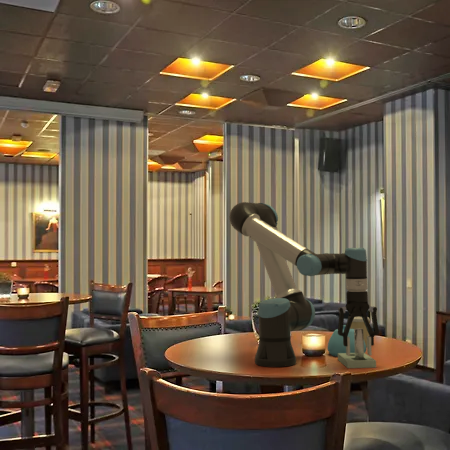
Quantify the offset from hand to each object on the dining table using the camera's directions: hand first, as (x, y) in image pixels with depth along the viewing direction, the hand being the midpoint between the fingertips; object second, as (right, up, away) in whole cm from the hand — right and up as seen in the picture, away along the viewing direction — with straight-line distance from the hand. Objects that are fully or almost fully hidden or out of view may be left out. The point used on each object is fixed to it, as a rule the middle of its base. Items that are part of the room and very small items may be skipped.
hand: (358, 355), depth 214 cm
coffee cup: (+10, -5, +42) cm, 43 cm away
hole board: (0, -4, +4) cm, 5 cm away
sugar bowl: (0, -5, +22) cm, 23 cm away
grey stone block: (0, -4, 0) cm, 4 cm away
